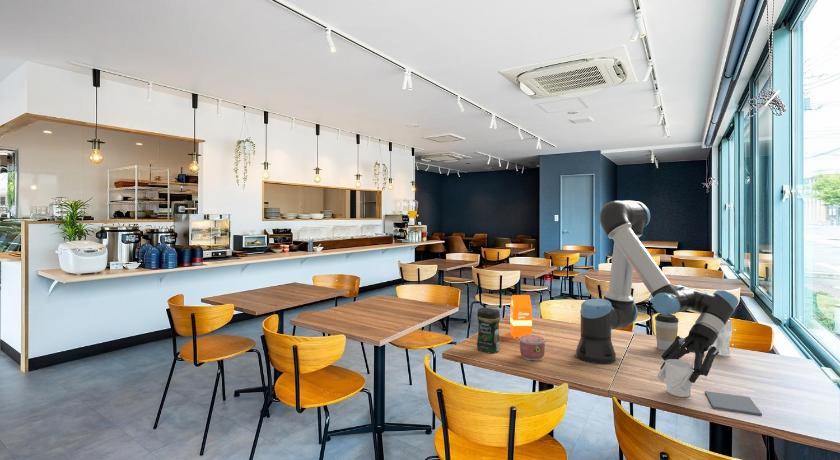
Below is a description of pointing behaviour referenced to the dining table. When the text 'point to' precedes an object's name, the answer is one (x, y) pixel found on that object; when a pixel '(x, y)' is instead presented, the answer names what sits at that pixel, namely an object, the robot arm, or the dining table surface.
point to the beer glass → (724, 340)
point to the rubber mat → (732, 403)
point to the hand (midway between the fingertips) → (671, 383)
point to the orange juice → (520, 316)
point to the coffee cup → (666, 330)
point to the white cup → (677, 376)
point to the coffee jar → (488, 330)
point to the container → (532, 347)
